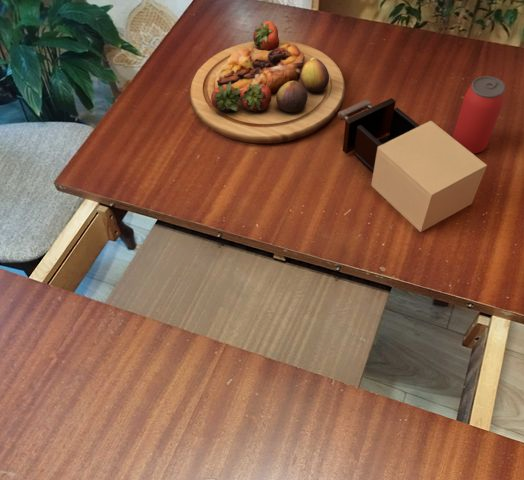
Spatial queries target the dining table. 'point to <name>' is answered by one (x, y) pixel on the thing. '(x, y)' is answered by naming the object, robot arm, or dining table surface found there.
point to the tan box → (426, 175)
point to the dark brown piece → (372, 128)
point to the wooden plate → (267, 89)
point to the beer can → (479, 113)
